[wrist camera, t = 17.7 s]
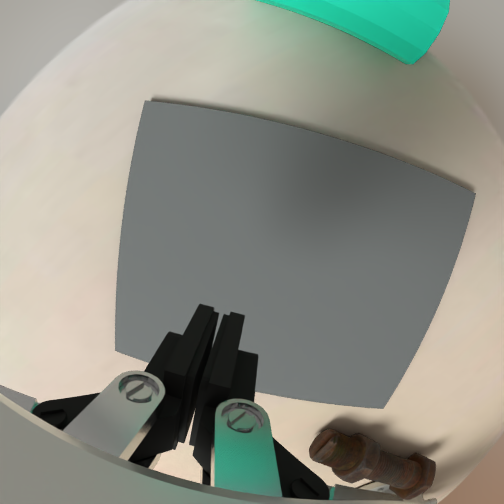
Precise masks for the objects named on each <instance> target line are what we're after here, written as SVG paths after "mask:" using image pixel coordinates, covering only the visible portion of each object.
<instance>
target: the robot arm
mask: <svg viewBox="0 0 504 504" xmlns="http://www.w3.org/2000/svg"><path fill="white" fill-rule="evenodd" d="M218 317H219V312H215V311H214V307H211V306H207V305H204V304H199V305H198V307H197V309H196V311H195V313H194V315H193V317H192V318H191V320H190V322H189V324H188V326H187V328H186V330H185V332H184V333H183V335H181V334H178V333H174V332H171V331H169V332H168V333H167V335H166V336H165V338H164V339H163V341H162V343H161V344H160V346H159V348H158V349H157V351H156V352H155V354H154V356H153V357H152V359H151V361H150V362H149V364H148V366H147V367H146V369H145V371H128V372H125V373H122V374H120V375H119V376H117V377H116V378H115V379H114V380H113V381H112V382H111V383H110V384H109V385H108V386H107V387H106V388H105V389H104V390H103V391H102V392H101V393H95V394H89V395H83V396H77V397H71V398H64V399H57V400H49V401H45V402H42V403H37V399H36V398H33V397H30V396H27V395H24V394H22V393H19V392H16V391H14V390H11V389H9V388H6V387H4V386H2V385H0V504H437V499H436V498H433V499H428V500H424V499H423V496H422V494H423V493H422V494H420V495H419V496H417V497H415V498H413V499H410V500H404V499H402V498H401V497H399V496H398V495H396V494H395V493H394V492H392V491H391V490H390V489H389V486H390V485H387V484H383V483H380V482H374V483H371V484H368V485H365V486H363V487H360V488H353V487H348V486H343V485H338V484H335V485H334V486H333V487H332V486H328V485H326V483H325V482H324V481H323V480H322V479H321V478H320V477H319V476H317V475H316V474H315V473H314V472H312V471H311V470H310V469H309V468H308V467H306V466H305V465H304V464H303V463H302V462H300V461H299V460H298V459H297V458H296V457H294V456H293V455H292V454H291V453H290V452H289V451H288V450H286V449H285V448H284V447H283V446H282V445H281V444H280V443H279V442H277V441H276V440H275V439H274V438H273V437H272V432H271V426H270V420H269V417H268V414H267V413H266V411H265V410H264V409H263V408H262V407H261V406H259V405H258V404H256V403H254V397H255V387H256V377H257V367H258V354H255V353H251V352H246V351H242V350H238V349H239V344H240V339H241V334H242V329H243V324H244V319H245V315H243V314H239V313H235V312H230V315H226V314H224V315H223V318H222V320H221V323H220V326H219V329H218V332H217V335H216V338H215V341H214V336H215V331H216V326H217V322H218ZM213 341H214V344H213ZM212 345H213V347H212ZM195 408H196V409H195ZM194 411H195V415H194V420H193V426H192V431H191V437H190V442H189V445H192V446H194V451H193V456H194V458H195V459H196V460H197V461H198V463H199V464H200V465H201V466H202V468H201V475H200V483H196V482H192V481H188V480H185V479H181V478H177V477H174V476H170V475H167V474H164V473H161V472H158V471H155V470H153V469H154V467H155V466H156V464H157V462H158V461H159V459H160V456H161V453H163V452H166V451H169V450H172V449H174V450H175V449H176V446H177V443H178V442H181V443H184V442H185V439H186V436H187V433H188V430H189V427H190V424H191V421H192V417H193V414H194Z"/></svg>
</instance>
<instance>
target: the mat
mask: <svg viewBox="0 0 504 504" xmlns="http://www.w3.org/2000/svg"><path fill="white" fill-rule="evenodd" d="M475 195H476V193H474V192H472V191H470V190H468V189H466V188H464V187H462V186H459V185H457V184H455V183H453V182H451V181H449V180H446V179H444V178H442V177H440V176H438V175H435V174H433V173H431V172H428V171H426V170H424V169H421V168H419V167H416V166H414V165H411V164H409V163H406V162H404V161H401V160H399V159H396V158H393V157H391V156H388V155H385V154H382V153H380V152H377V151H374V150H371V149H368V148H365V147H362V146H359V145H356V144H353V143H350V142H347V141H344V140H341V139H337V138H334V137H331V136H327V135H324V134H321V133H317V132H313V131H310V130H306V129H302V128H299V127H295V126H291V125H287V124H283V123H278V122H274V121H270V120H265V119H261V118H256V117H252V116H247V115H242V114H236V113H231V112H226V111H220V110H214V109H208V108H202V107H195V106H188V105H180V104H172V103H164V102H154V101H145V102H144V106H143V110H142V114H141V119H140V123H139V127H138V132H137V136H136V141H135V146H134V151H133V156H132V161H131V167H130V172H129V178H128V184H127V191H126V197H125V204H124V212H123V219H122V228H121V237H120V247H119V258H118V271H117V287H116V313H115V351H117V352H120V353H122V354H125V355H128V356H131V357H134V358H136V359H139V360H142V361H145V362H148V363H149V362H150V361H151V359H152V357H153V356H154V354H155V352H156V351H157V349H158V348H159V346H160V344H161V343H162V341H163V339H164V338H165V336H166V335H167V333H168V332H169V331H171V332H174V333H178V334H181V335H183V333H184V332H185V330H186V328H187V326H188V324H189V322H190V320H191V318H192V317H193V315H194V313H195V311H196V309H197V307H198V305H199V304H204V305H207V306H211V307H214V311H215V312H219V317H218V322H217V326H216V331H215V336H214V341H215V338H216V335H217V332H218V329H219V326H220V323H221V320H222V318H223V315H224V314H226V315H230V312H235V313H239V314H243V315H245V319H244V324H243V329H242V334H241V339H240V344H239V349H238V350H242V351H246V352H251V353H255V354H258V367H257V377H256V387H255V392H260V393H265V394H270V395H276V396H281V397H287V398H293V399H299V400H305V401H312V402H319V403H327V404H335V405H344V406H354V407H365V408H378V409H383V408H384V407H385V405H386V404H387V402H388V401H389V399H390V397H391V396H392V394H393V393H394V391H395V389H396V388H397V386H398V384H399V383H400V381H401V379H402V377H403V376H404V374H405V372H406V370H407V369H408V367H409V365H410V363H411V361H412V359H413V358H414V356H415V354H416V352H417V350H418V348H419V346H420V344H421V342H422V340H423V338H424V336H425V334H426V332H427V330H428V328H429V326H430V324H431V321H432V319H433V317H434V315H435V313H436V310H437V308H438V306H439V303H440V301H441V299H442V296H443V294H444V291H445V289H446V286H447V284H448V281H449V279H450V276H451V273H452V271H453V268H454V265H455V262H456V260H457V257H458V254H459V251H460V248H461V245H462V242H463V238H464V235H465V232H466V228H467V225H468V221H469V218H470V214H471V211H472V207H473V203H474V199H475ZM214 341H213V344H214ZM212 347H213V345H212Z"/></svg>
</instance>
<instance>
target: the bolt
mask: <svg viewBox="0 0 504 504" xmlns="http://www.w3.org/2000/svg"><path fill="white" fill-rule="evenodd" d="M309 454H310V458H311V459H312V460H313V461H315V462H318V463H321V464H324V465H327V466H329V467H332V471H333V472H334V473H335V475H337V476H338V477H339V478H340V479H342V480H343V481H346V482H349V483H354V482H357V481H359V480H362V479H364V478H365V479H369V480H372V481H376V482H380V483H383V484H387V485H390V486H389V489H390V490H391V491H392V492H394V493H395V494H396V495H398V496H399V497H401V498H402V499H404V500H410V499H413V498H415V497H417V496H419V495H420V494H422V493H424V492H425V491H426V490H427V489H428V488H430V487H431V485H432V482H433V480H434V476H435V470H436V464H435V462H434V461H433V460H431V459H429V458H427V457H425V456H422V455H420V454H417V453H414V454H413V455H412V456H410V457H409V458H408V459H404V458H401V457H398V456H395V455H393V454H390V453H387V452H385V451H383V450H380V445H379V444H378V443H377V442H375V441H373V440H372V439H370V438H368V437H366V436H364V435H362V434H360V433H358V434H355V435H353V436H351V437H348V436H346V435H344V434H342V433H339V432H337V431H335V430H333V429H328V430H325V431H323V432H321V433H320V434H319V435H318V436H317V437H316V438H315V439H314V441H313V442H312V444H311V446H310V448H309Z"/></svg>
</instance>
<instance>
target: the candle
mask: <svg viewBox="0 0 504 504" xmlns="http://www.w3.org/2000/svg"><path fill="white" fill-rule="evenodd" d="M257 1H260V2H264V3H267V4H271V5H274V6H277V7H281V8H284V9H287V10H290V11H293V12H296V13H299V14H301V15H304V16H307V17H310V18H312V19H315V20H317V21H320V22H322V23H325V24H327V25H330V26H332V27H334V28H337V29H339V30H341V31H343V32H346V33H348V34H350V35H352V36H354V37H356V38H358V39H360V40H362V41H365V42H366V43H368V44H370V45H372V46H374V47H376V48H378V49H380V50H382V51H384V52H385V53H387V54H389V55H391V56H393V57H394V58H396V59H398V60H399V61H401V62H403V63H405V64H414V63H415V62H416V61H417V60H418V59H420V58H421V57H422V56H423V55H424V54H425V53H426V52H427V50H428V49H429V48H430V46H431V44H432V43H433V42H434V40H435V39H436V37H437V36H438V34H439V33H440V31H441V28H442V26H443V24H444V21H445V19H446V17H447V15H448V12H449V5H450V0H257Z"/></svg>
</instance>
